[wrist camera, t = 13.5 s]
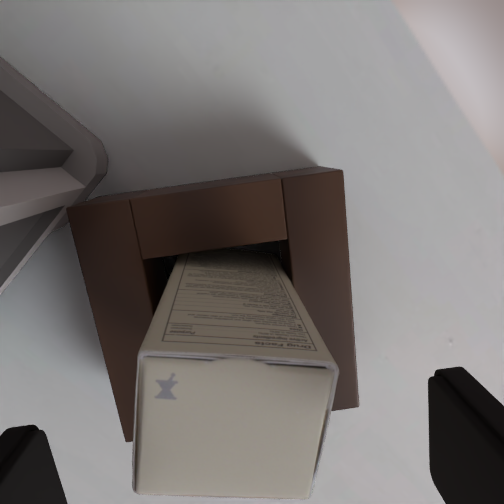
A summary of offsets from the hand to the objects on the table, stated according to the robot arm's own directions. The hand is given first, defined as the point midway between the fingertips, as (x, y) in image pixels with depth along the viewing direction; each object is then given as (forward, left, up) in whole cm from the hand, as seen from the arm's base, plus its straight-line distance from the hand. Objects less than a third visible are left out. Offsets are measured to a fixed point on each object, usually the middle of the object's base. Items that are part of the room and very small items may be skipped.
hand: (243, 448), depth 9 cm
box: (0, 0, -12) cm, 12 cm away
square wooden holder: (+1, 0, -12) cm, 12 cm away
